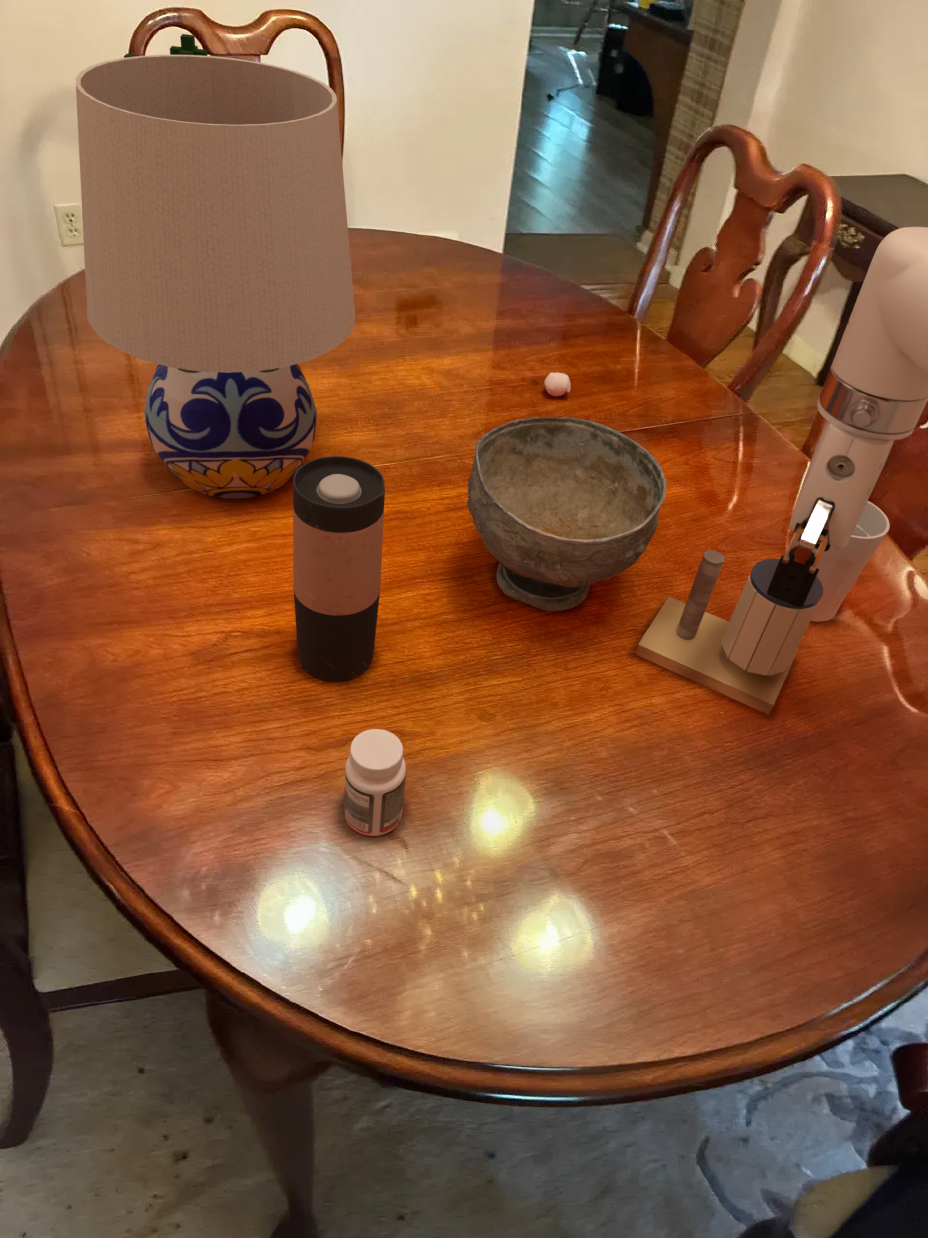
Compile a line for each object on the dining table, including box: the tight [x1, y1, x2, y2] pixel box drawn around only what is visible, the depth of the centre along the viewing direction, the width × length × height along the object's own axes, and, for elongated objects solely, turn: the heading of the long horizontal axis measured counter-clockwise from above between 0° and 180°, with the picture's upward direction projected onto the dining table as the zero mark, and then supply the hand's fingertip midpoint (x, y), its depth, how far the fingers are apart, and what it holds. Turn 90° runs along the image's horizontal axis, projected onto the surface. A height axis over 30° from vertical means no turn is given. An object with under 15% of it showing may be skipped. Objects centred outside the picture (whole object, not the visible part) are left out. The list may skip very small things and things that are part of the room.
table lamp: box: [75, 54, 356, 500], centre depth 96 cm, size 27×27×40 cm
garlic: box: [543, 371, 572, 397], centre depth 129 cm, size 5×3×5 cm
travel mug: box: [292, 455, 386, 683], centre depth 81 cm, size 8×8×20 cm
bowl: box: [466, 416, 668, 612], centre depth 94 cm, size 20×19×15 cm
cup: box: [796, 500, 891, 623], centre depth 98 cm, size 8×8×12 cm
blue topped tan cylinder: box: [722, 558, 823, 676], centre depth 88 cm, size 7×7×9 cm
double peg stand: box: [634, 549, 798, 716], centre depth 90 cm, size 14×9×12 cm, turn 60°
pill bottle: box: [343, 728, 407, 837], centre depth 73 cm, size 5×5×8 cm
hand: (798, 571), depth 83 cm, fingers open, 9 cm apart
